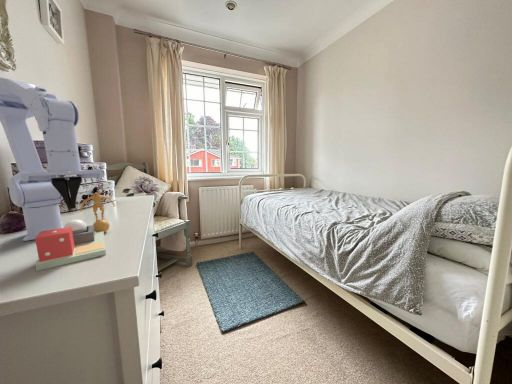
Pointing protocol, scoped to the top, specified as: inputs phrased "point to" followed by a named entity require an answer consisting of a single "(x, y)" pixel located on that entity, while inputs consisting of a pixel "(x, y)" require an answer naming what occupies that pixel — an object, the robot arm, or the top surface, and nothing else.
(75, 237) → the housing
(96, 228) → the figurine
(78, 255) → the board
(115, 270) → the top surface
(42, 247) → the die
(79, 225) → the white ball
